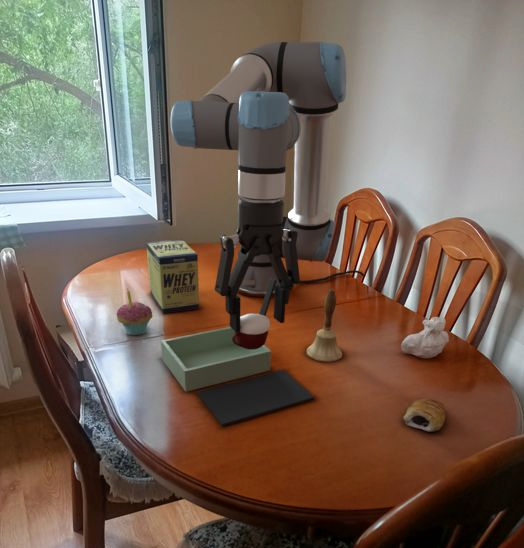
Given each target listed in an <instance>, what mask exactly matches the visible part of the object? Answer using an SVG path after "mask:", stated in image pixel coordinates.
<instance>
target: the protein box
mask: <svg viewBox="0 0 524 548" xmlns="http://www.w3.org/2000/svg"><path fill="white" fill-rule="evenodd" d="M145 245H146V255H147V256H146V258H147V270H148V280H149V281H148V282H149V293H150V295H151V298H153V301H154V302H155V304H156V305H157V307H158V308H159V310H160V311H161V313H162V314H163V315H164V314H169V313H170V314H171V313H176V312H185V311H191V310H199V309H200V291H199V289H200V288H199V287H200V286H199V285H200V284H199V258H198V256H199V255H198V253H197V252H196V251H194V249H192V248H191V246H189V245H188V244H187V243H186V241H184V240H183V239H172V240H171V239H170V240H160V241H159V240H158V241H147V242H146V244H145Z"/></svg>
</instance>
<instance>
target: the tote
mask: <svg viewBox="0 0 524 548" xmlns="http://www.w3.org/2000/svg"><path fill="white" fill-rule="evenodd" d="M234 334H235V331H234V330H233V329H232V328H231V327H230V326H227V327H226V326H225V327H222V328H218V329H217V328H216V329H212V330H207V331H202V332H197V333H193V334H188V335H183V336H178V337H173V338H168V339H163V340H160V346H161V347H160V348H161V359H162V362H163V363H164V364H165V365H166V367H167V369H169V372H171V374H172V375H173V376H174V378H175V379H176V380H177V383H179V385H180V386H181V387H182V389H183V390H184V391H185V393H186V392H190V391H195V390H200V389H202V388H206V387H211V386H214V385H219V384H221V383H226V382H230V381H235V380H239V379H242V378H246V377H250V376H253V375H254V376H255V375H257V374H261V373H266V372H269V371H271V367H272V366H271V365H272V350H270V349H269V348H268V347H267V346H266V345H265V344H264V345H263V346H262V347H260V348H258V349H254V350H249V349H245V348H243V347H240V346H237V345H236V344H234V343H233V341H232V337H233V335H234ZM235 341H236V337H235ZM236 342H237V341H236ZM237 343H238V342H237Z"/></svg>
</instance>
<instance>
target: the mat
mask: <svg viewBox="0 0 524 548" xmlns="http://www.w3.org/2000/svg"><path fill="white" fill-rule="evenodd" d="M196 394H197V395H198V397H199V398H200V399H201V401H202V402H203V404H204V405H205V407H207V408H208V411H210V413H211V414H212V415H213V417H214V418H215V419H216V420H217V422H218V423H219V424H220V426H221V427H225V426H229V425H232V424H236V423H239V422H242V421H246V420H250V419H252V418H256V417H259V416H264V415H267V414H269V413H274V412H276V411H279V410H283V409H286V408H289V407H293V406H297V405H300V404H304V403H306V402H311V401H313V400H315V397H314V396H313V394H311V393H310V392H309V391H308V390H307V389H306V388H305V387H303V386H302V385H301V384H300V383H299V382H298V381H297V380H296V379H295V378H294V377H292V375H291V374H289V373H288V372H287V371H286V370H284V369H279V370H276V371H272V372H268V373H264V374H261V375H256V376H253V377H249V378H245V379H241V380H237V381H232V382H229V383H226V384H221V385H217V386H213V387H210V388H205V389H202V390H197V393H196Z"/></svg>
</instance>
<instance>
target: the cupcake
mask: <svg viewBox="0 0 524 548" xmlns="http://www.w3.org/2000/svg"><path fill="white" fill-rule="evenodd" d="M126 290H127V291H126V295H127V299H128V303H125V304H123V305H122V306H120V307H119V308H118V309H117V311H116V320H117V321H118V322H119V323H121V324H122V326H123V327H124V330H125V332H126V333H127V334H128V335H130V336H131V335H132V336H139V335H142V334H144V333H146V331H147V328H148V324H149V322H150V320H151V319H152V318H153V311H152V309H151V307H150V306H149V305H146V304H145V303H141V302H138V301H134V302H133V301H132V296H131V291H130V290H129V288H126Z"/></svg>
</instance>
